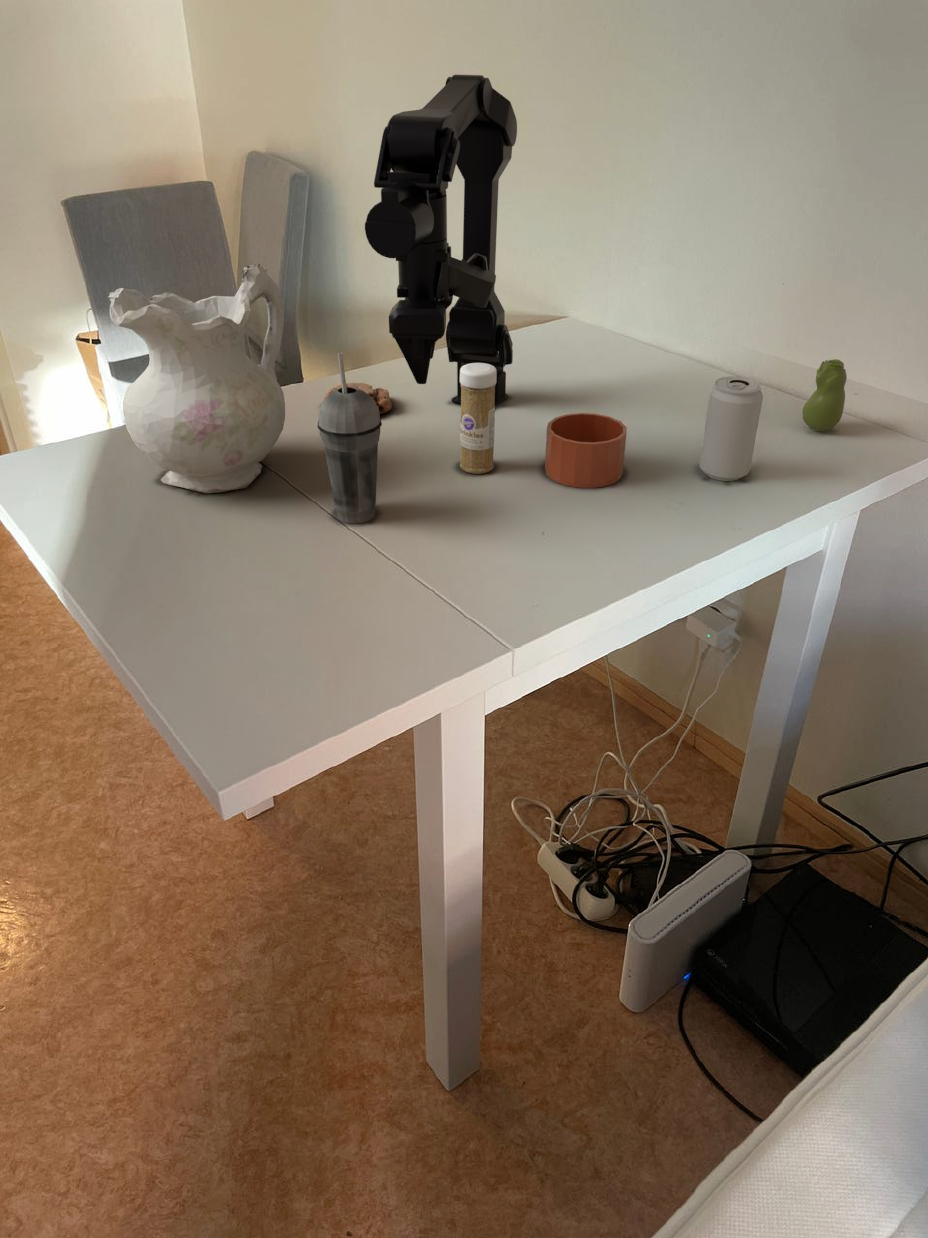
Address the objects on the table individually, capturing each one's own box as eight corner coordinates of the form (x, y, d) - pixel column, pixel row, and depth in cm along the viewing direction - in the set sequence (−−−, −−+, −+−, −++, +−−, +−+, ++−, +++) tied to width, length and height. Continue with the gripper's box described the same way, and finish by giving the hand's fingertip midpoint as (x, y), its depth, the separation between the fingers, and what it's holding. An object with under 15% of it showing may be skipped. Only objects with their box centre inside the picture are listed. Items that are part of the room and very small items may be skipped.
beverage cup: (395, 506, 117) (388, 342, 106) (371, 533, 111) (361, 363, 100) (341, 497, 119) (328, 336, 108) (314, 523, 113) (298, 356, 102)
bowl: (531, 476, 124) (533, 433, 120) (565, 449, 131) (568, 407, 127) (603, 494, 119) (607, 449, 116) (634, 465, 127) (638, 422, 123)
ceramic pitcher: (237, 436, 137) (201, 253, 124) (339, 459, 127) (311, 262, 114) (112, 491, 123) (57, 290, 110) (216, 522, 112) (168, 305, 100)
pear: (833, 439, 134) (849, 369, 128) (794, 432, 136) (809, 362, 130) (842, 426, 138) (857, 357, 132) (804, 419, 140) (818, 351, 134)
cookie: (337, 392, 149) (336, 373, 147) (402, 399, 146) (402, 380, 145) (312, 416, 141) (310, 396, 139) (380, 423, 138) (379, 403, 137)
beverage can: (753, 467, 126) (769, 378, 119) (743, 487, 121) (759, 395, 115) (704, 458, 128) (718, 371, 122) (693, 477, 123) (706, 387, 117)
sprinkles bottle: (454, 471, 125) (454, 371, 117) (467, 458, 128) (467, 359, 121) (487, 477, 124) (489, 375, 116) (499, 463, 127) (501, 363, 120)
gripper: (489, 258, 102) (487, 399, 111) (494, 221, 118) (492, 347, 126) (385, 257, 103) (391, 397, 111) (404, 220, 118) (408, 346, 127)
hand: (425, 370), depth 119 cm, fingers open, 9 cm apart
